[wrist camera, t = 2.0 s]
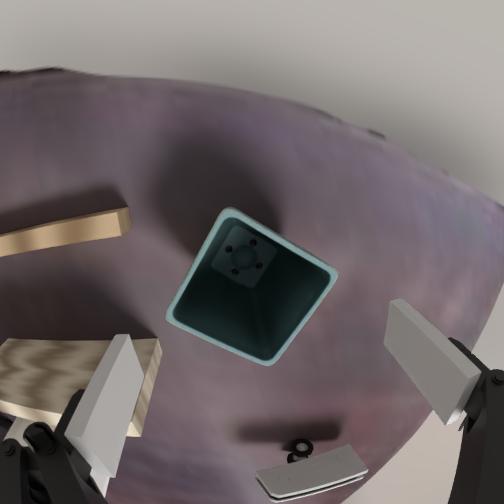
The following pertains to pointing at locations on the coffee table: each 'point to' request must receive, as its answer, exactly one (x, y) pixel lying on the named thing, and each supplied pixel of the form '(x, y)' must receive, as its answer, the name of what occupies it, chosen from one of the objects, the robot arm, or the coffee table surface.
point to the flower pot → (249, 289)
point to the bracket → (310, 472)
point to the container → (22, 424)
